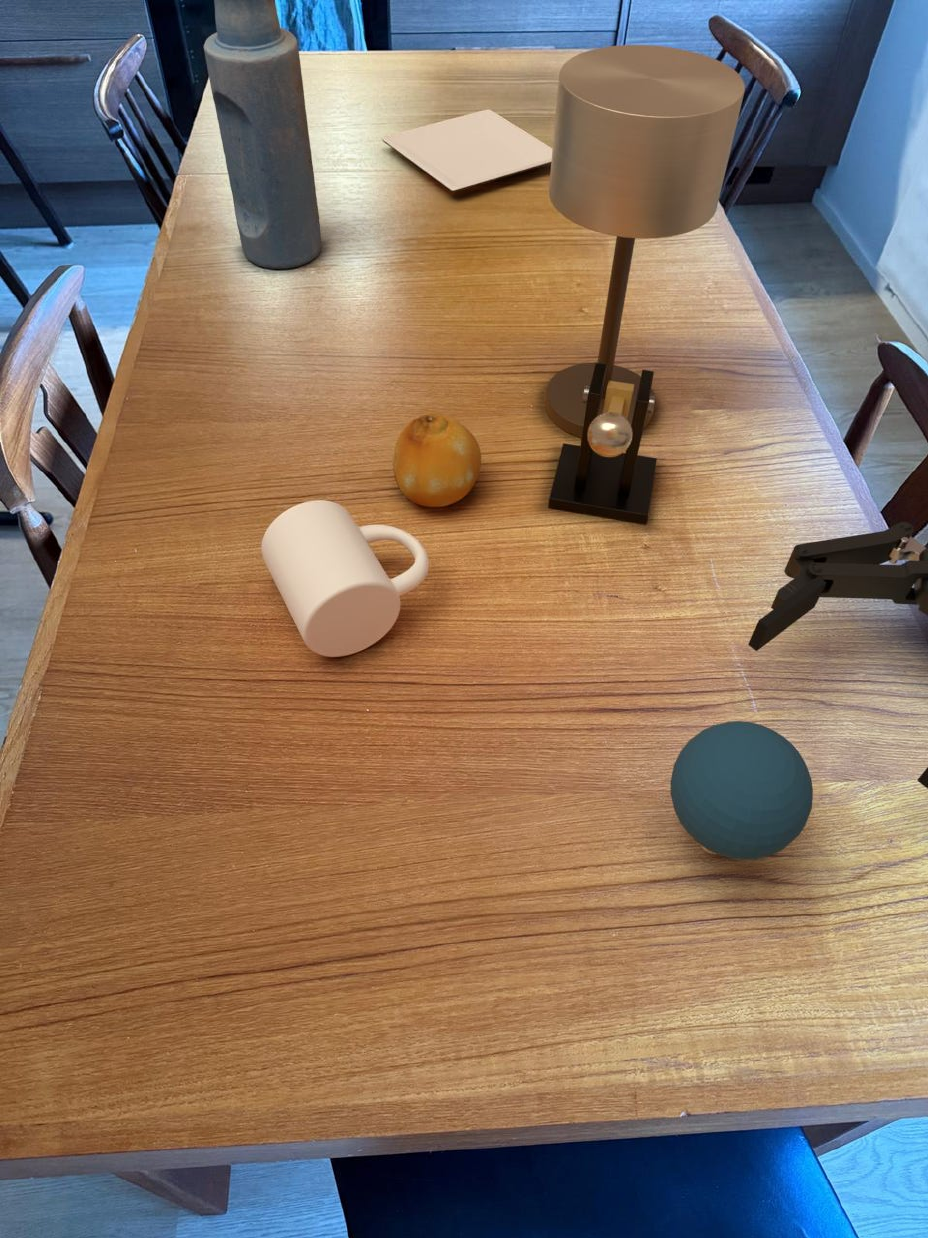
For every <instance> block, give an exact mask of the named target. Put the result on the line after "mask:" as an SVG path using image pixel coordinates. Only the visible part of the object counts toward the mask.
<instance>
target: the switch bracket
mask: <svg viewBox="0 0 928 1238" xmlns="http://www.w3.org/2000/svg"><path fill="white" fill-rule="evenodd" d="M594 363H595V367H594V371H593V375H592V379H591V383H590V387H589V386H585V387H584V392H583V398H582V403H587V404H586V411H585V418H584V425H583V431H582V438H580V445H577V444H571V443H565V442H563V444H562V446H561V450H560V454H559V459H558V461H557V466H556V470H555V474H554V478H553V482H552V486H551V490H550V494H549V497H548V505H547V508H548V509H553V510H559V511H563V512H564V511H565V512H569V513H577V514H582V515H588V516H592V517H593V516H594V517H598V518H599V517H600V518H604V519H605V518H606V519H611V520H615V521H616V520H617V521H623V522H629V523H634V524H639V525H645V526H646V525H647V523H648V519H649V514H650V513H649V512H650V507H651V502H652V500H651V499H652V495H653V487H654V481H655V475H656V474H655V473H656V468H657V462H658V460H657V459H658V458H657V457H652V456H646V455H640V454H639V451H640V446H641V441H642V437H643V432H644V429H645V428H644V423H645V418H646V414H647V413H652V412H653V413H654V411H653V407H654V408H655V406H654V402H655V403H656V395H655V396H650V393H651V388H652V386H653V381H654V380H653V379H654V374H655V371H654V370H648V369H642V370H641V374H640V376H641V379H640V384H639V389H638V394H637V399H636V404H635V409H634V414H633V419H632V424H631V428H632V440H631V443H630V445H629V447H628V448H627V449H626V450H625V452H623V453H622V454H620V455H618V456H616V457H603V456H600V455H598V454H597V453H595V452H594V451H593V450H592V448H591V447H590V445H589V442H588V436H587V434H588V429H589V426H590V424H591V422H592V421H593V420H594V419H595V418H596V417H597V416H599V411H600V405H601V399H602V392H603V386H604V380H605V374H606V368H607V364H601V363H597V362H594ZM643 428H644V429H643Z"/></svg>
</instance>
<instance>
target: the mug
mask: <svg viewBox="0 0 928 1238" xmlns="http://www.w3.org/2000/svg"><path fill="white" fill-rule="evenodd" d="M381 541H393V542H396V543H399V544H400V545H402V546H403V547H404V548H405V549H406V550H408V551H409V552H410V554H411V555H412V557H413V558H414V563H413V564H412V566H410V567H409V568H408V569H407V570H405V571H404V572H402V573H401V574H399V575H397V576H394V577H393V578H389V576H388V574H387V572H386V571H385V570H384V568H383V566H382V564H381V563H380V561H379V559H378V558H377V556H376V555H375V553H374V551H373V549H372V548H371V546H370V545H369V544H370V543H375V542H381ZM260 551H261V557H262V559H263V562H264V563H265V566H266V568H267V570H268V571H269V574H270V576H271V578H272V580H273V582H274V584H275V586H276V587H277V590H278V591H279V594H280V596H281V599H282V600H283V602H284V604H285V606H286V608H287V610H288V612H289V614H290V616H291V618H292V620H293V622H294V624H295V627H296V628H297V630H298V632H299V635H300V637H301V638H302V640H303V643H304V644H305V646H306V647H307V648H308V649H309V650H310V651H311V652H313V653H315V654H316V655H319V656H322V657H328V658H329V657H330V658H337V657H338V658H339V657H346V656H350V655H353V654H356V653H359V652H361V651H363V650H365V649H368V648H369V647H371V646H372V645H374V644H376V643H377V642H379V641H380V640H381V639H383V637H384V636H385V635H387V634H388V633H389V631H390V630H391V629H392V628H393V626H394V625H395V623H396V621H397V620H398V618H399V615H400V612H401V605H402V604H401V598H400V597H401V596H403V595H405V594H407V593H410V592H411V591H413V590H414V589H416V588H417V587H419V586H420V585H421V584H422V583H423V582H424V580H425V579H426V578H427V575H428V574H429V570H430V560H429V556H428V553H427V551H426V549H425V547H424V546H423V544H422V543H421V542H420V541H419V540H418V539H417V538H416V537H415V536H413V534H411V533H409V532H407V531H405V530H403V529H400V528H399V527H395V526H391V525H386V524H368V525H367V524H365V525H362V526H358V525H357V523H356V521H355V520H354V518H353V517H352V515H351V513H350V512H349V511H348V509H347V508H345V507H344V506H342V505H341V504H339V503H337V502H335V501H331V500H324V499H323V500H322V499H317V500H309V501H305V502H302V503H299V504H296V505H294V506H292V507H290V508H288V509H286V510H284V511H283V512H282V513H280V514H279V515H278V516H277V517H276V518H274V520H272V522H271V523H270V524H269V526H268V527H267V528H266V530H265V533H264V534H263V537H262V539H261V545H260Z"/></svg>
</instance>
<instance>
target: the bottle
mask: <svg viewBox="0 0 928 1238" xmlns="http://www.w3.org/2000/svg"><path fill="white" fill-rule="evenodd" d="M274 1H275V0H213V3H214V19H215V29H216V32H214V33H213V34H211V35H210V36H208V37H207V38H206V40H205V41H204V44H203V51H204V59H205V63H206V68H207V75H208V79H209V85H210V90H211V95H212V100H213V103H214V107H215V108H214V109H215V114H216V119H217V123H218V128H219V134H220V139H221V143H222V149H223V154H224V159H225V166H226V170H227V175H228V181H229V186H230V190H231V195H232V201H233V208H234V214H235V215H234V216H235V219H236V226H237V229H238V234H239V240H240V243H241V245H240V246H241V250H242V253H243V255H244V256H245V258H246V259H247V260H248V261H250V262H251V263H252V264H254V265H255V266H257V267H262V268H266V269H273V270H287V269H291V268H297V267H300V266H303V265H306V264H307V263H309V262H312V261H313V260H314V259H315V258H317V256H319V254H320V253H321V251H322V245H323V241H322V233H321V223H320V213H319V206H318V197H317V189H316V181H315V172H314V164H313V157H312V149H311V140H310V134H309V125H308V116H307V110H306V100H305V92H304V91H305V90H304V82H303V73H302V67H301V66H302V65H301V58H300V51H299V44H298V39H297V37H296V36H295V35H294V34H293V33H292V32H291V31H289V30H287V29H285V28H282V27H281V25H280V19H279V16H278V12H277V7H276V4H275V2H274Z"/></svg>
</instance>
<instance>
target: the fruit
mask: <svg viewBox="0 0 928 1238" xmlns="http://www.w3.org/2000/svg"><path fill="white" fill-rule="evenodd" d="M481 465H482V452H481V447H480V445H479V443H478V440H477V439H476V437H475V436H474V435H473V433H472V432H471V431H470V430H469V429H468V428H467V427H466V426H465V425H464V424H463V423H461V422H460V421H459V420H457V419H456V418H454V417H452V416H449V415H447V414H446V415H445V414H442V413H428V414H425V415H422V416H420V417H419V416H418V417H417V418H415V419H413V420H411V421H410V422H409V423H408V424H407V425H406V427H405V428H404V429H403V430H402V431H401V432H400V434H399V436H398V438H397V440H396V442H395V445H394V449H393V455H392V470H393V476H394V479H395V482H396V485H397V487H398V489H399V490H400V492H401V493H402V494H403V496H405V498H407V499H408V500H409V501H411V502H413V503H415V504H417V505H419V506H423V507H429V508H441V507H447V506H450V505H452V504H455V503H457V502H459V501H460V500H462V499H463V498H465V496H467V495H468V494H469V493H470V491H471V490H472V489H473V487H474V486H475V484H476V482H477V480H478V477H479V475H480V473H481Z"/></svg>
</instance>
